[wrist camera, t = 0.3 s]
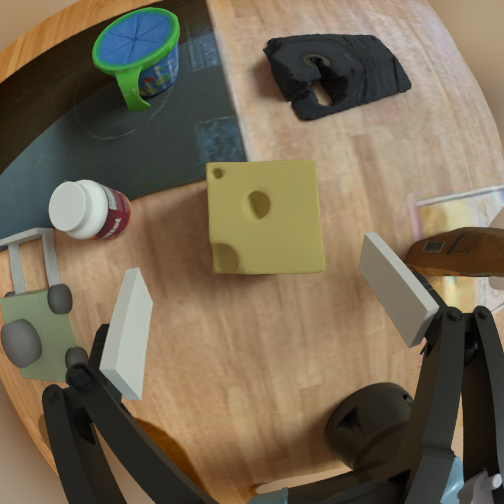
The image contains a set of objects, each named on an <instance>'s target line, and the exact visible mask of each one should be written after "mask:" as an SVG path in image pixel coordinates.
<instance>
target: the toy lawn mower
mask: <svg viewBox="0 0 504 504" xmlns="http://www.w3.org/2000/svg"><path fill="white" fill-rule="evenodd" d="M41 237H42V243H43V251H44V259H45V265H46V272H47V277H48V283H49V289H42V290H36V291H29V292H26V289H25V284H24V278H23V272H22V265H21V258H20V250H19V244H21V243H24V242H27V241H31V240H34V239H38V238H41ZM3 245H8V249H9V257H10V265H11V272H12V278H13V284H14V289H15V291H12V292H8V293H7V294H6V295H5V297H4V298H0V305H1V309H2V314H3V318H4V322H5V325H4V326H3V327H2V329H1V343H2V346H3V349H4V351H5V353H6V355H7V357H8V358H9V360H10V361H11V362H12V363H13V364H14V365H15V366H17V367H19V369H20V372H21V374H22V377H23V378H28V379H36V380H44V381H53V382H64V381H65V380H66V379H65V376H66V372H67V370H68V369H69V368H70V367H71V366H72V365H73V364H75V363H79V362H82V363H86V364H87V365H88V362H89V358H88V355H87V353H86V351H85V350H84V349H83V348H76V344H75V341H74V338H73V334H72V331H71V327H70V323H69V319H68V315H67V313H69V312H70V310H71V308H72V295H71V292H70V290H69V288H68V287H67V286H66V285H65V284H61V282H60V277H59V271H58V265H57V258H56V251H55V243H54V233H53V228H34V229H31V230H28V231H25V232H22V233H19V234H16V235H13V236H10V237H7V238H4V239H1V240H0V246H3Z"/></svg>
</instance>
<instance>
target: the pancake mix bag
mask: <svg viewBox="0 0 504 504" xmlns="http://www.w3.org/2000/svg"><path fill="white" fill-rule="evenodd" d="M404 264H405V265H406V266H412V267H413V268H414V269H415V270H416V272H418V273H421V274H426V275H433V276H467V277H490V276H497V277H504V229H498V228H488V227H463V228H458V229H455V230H452V231H449V232H446V233H442V234H439V235H436V236H433V237H430V238H427V239H424V240H421V241H417V242H416V243H415V244H414V245H413V247H412V248H411V249H410V251H409V253H408V255H407V257H406V260H405V263H404Z"/></svg>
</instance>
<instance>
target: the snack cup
mask: <svg viewBox="0 0 504 504" xmlns="http://www.w3.org/2000/svg"><path fill="white" fill-rule="evenodd" d="M179 35H180V27H179V23H178V18H177V17H176V16H175V15H174V14H172V13H171V12H170V11H167V10H165V9H160V8H152V7H150V8H144V9H140V10H137V11H134V12H131V13H128V14H126V15H124V16H122V17H120V18H119V19H117V20H115V21H114V22H113V23H111V24H110V25H109V26H108V27H107V28H106V29H105V30H104V31H103V32H102V33H101V34H100V36H99V37H98V39H97V40H96V42H95V44H94V47H93V52H92V56H93V63H94V65H95V67H96V68H98V69H100V70H101V71H102V72H104V73H106V74H109V75H112V76H113V77H114V78H115V79H116V80H117V81H118V85H119V87H120V90H121V92H122V95H123V97H124V99H125V101H126V104H127V107H128V109H129V110H131V111H139V110H144V109H148V108H150V104H148V103H146V102H145V101H144V100H142V99H141V97H140V96H139V95H142V96H154V95H155V94H157V93H160V92H162V91H164V90H165V89H167V88H168V87H169V86H170V85H171V84H173V83H174V82H175V81H176V78H177V75H178V71H179V61H178V59H179V55H178V38H179Z"/></svg>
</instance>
